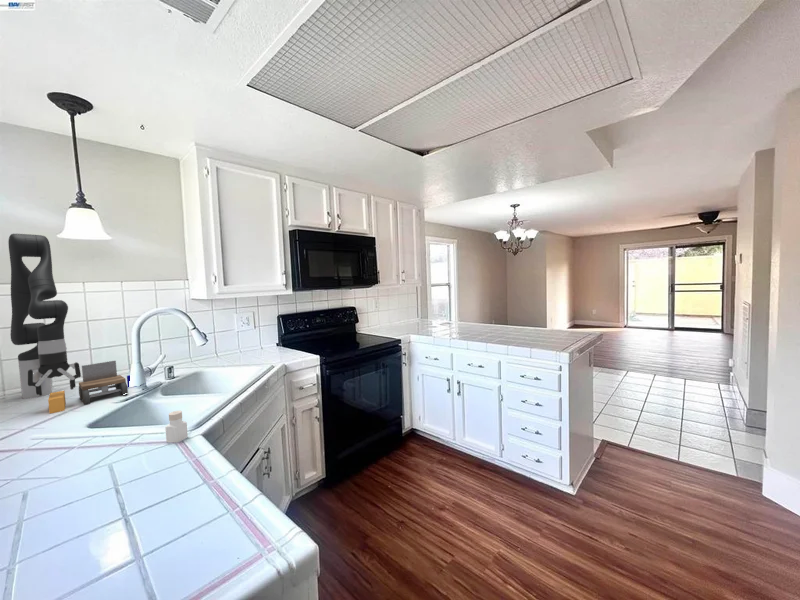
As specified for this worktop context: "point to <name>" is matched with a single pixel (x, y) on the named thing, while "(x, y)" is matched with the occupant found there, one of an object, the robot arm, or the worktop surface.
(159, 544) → the worktop surface
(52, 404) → the chock
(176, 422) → the pepper shaker
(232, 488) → the worktop surface
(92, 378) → the bench with backrest
